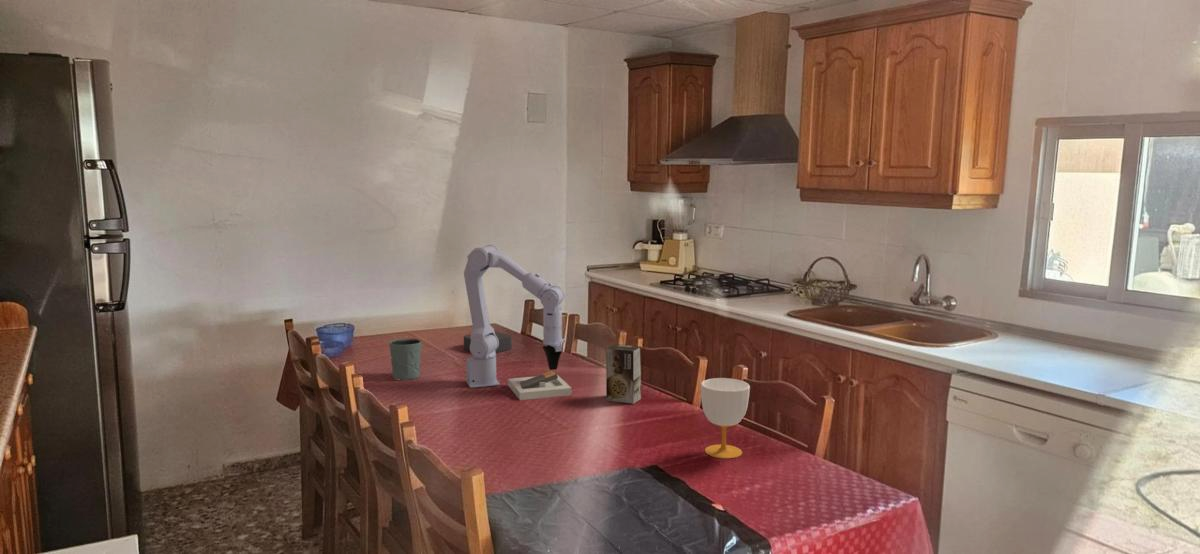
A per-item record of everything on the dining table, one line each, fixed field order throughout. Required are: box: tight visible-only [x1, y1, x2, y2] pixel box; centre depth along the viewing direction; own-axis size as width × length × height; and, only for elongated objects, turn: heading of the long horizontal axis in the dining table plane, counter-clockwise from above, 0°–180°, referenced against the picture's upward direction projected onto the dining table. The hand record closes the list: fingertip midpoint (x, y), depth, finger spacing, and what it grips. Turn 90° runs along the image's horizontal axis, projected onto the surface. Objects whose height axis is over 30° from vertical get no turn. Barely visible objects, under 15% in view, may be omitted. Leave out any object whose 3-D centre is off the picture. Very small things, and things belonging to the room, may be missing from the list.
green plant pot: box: [388, 338, 423, 381], centre depth 257 cm, size 10×10×12 cm
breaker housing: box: [507, 374, 573, 401], centre depth 242 cm, size 16×16×4 cm
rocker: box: [520, 370, 559, 389], centre depth 242 cm, size 11×5×1 cm, turn 109°
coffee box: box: [605, 343, 642, 405], centre depth 233 cm, size 9×6×16 cm
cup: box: [700, 377, 751, 460], centre depth 190 cm, size 12×12×17 cm
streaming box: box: [463, 331, 513, 354], centre depth 297 cm, size 14×14×5 cm
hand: (552, 369), depth 243 cm, fingers closed
